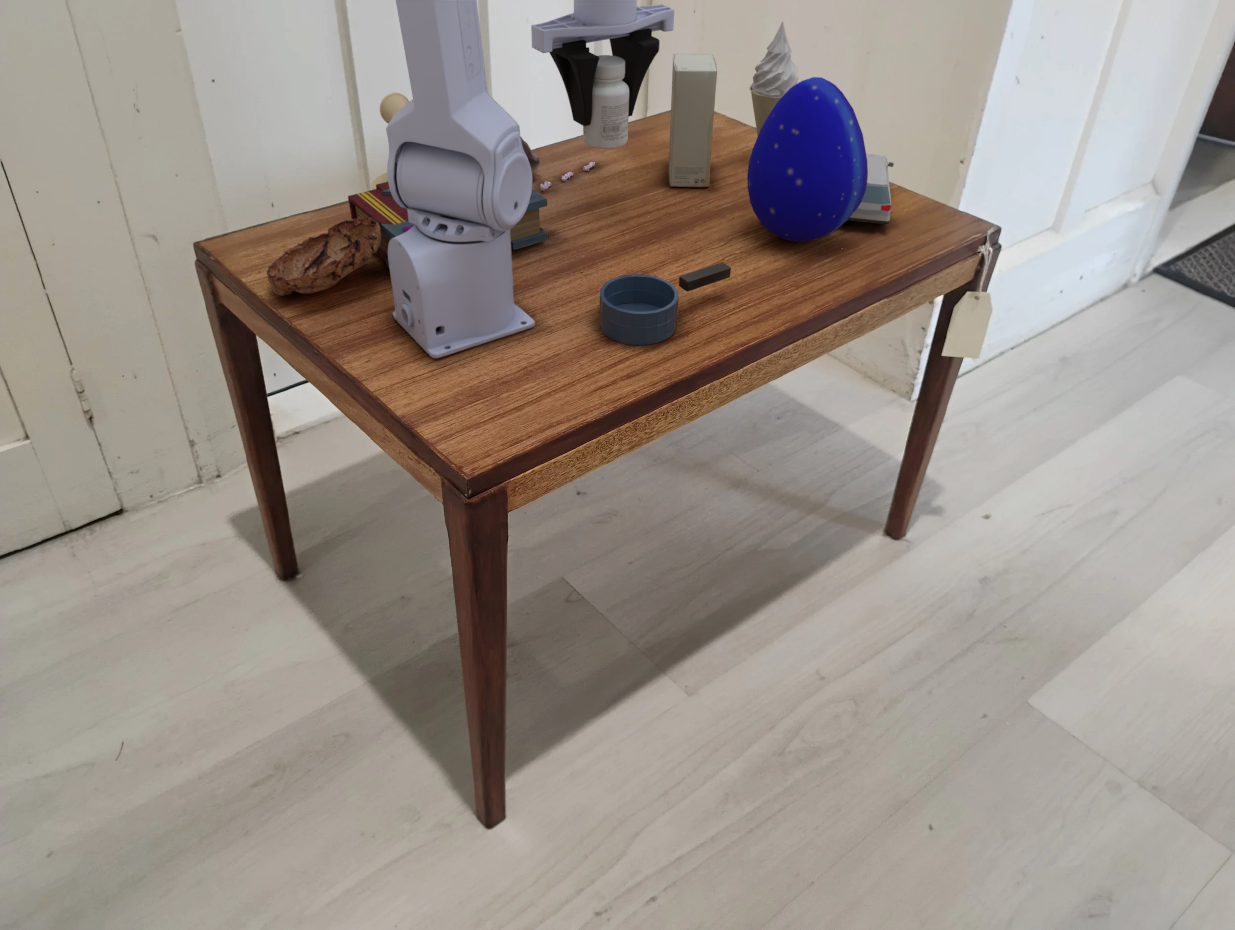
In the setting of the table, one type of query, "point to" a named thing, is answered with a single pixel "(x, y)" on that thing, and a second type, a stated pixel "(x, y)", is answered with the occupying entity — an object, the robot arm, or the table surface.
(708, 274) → the dark grey rectangular bar
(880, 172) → the toy car
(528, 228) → the decorative book
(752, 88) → the ice cream cone
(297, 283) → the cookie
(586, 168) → the pink molecule models
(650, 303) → the dark grey open cylinder
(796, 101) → the ornament
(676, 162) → the cosmetic box
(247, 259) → the table surface
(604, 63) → the pill bottle
